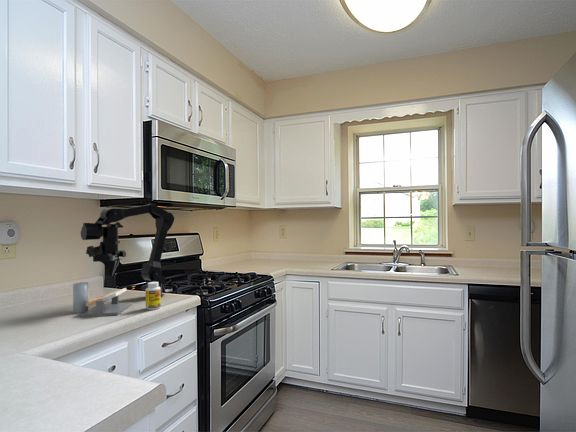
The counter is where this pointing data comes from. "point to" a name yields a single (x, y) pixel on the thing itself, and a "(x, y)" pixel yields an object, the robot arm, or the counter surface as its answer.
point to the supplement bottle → (153, 296)
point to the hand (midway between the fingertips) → (110, 276)
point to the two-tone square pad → (106, 297)
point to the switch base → (107, 308)
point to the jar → (80, 297)
